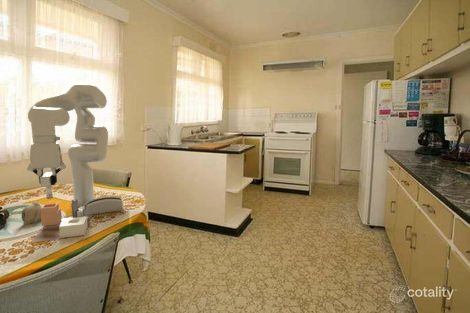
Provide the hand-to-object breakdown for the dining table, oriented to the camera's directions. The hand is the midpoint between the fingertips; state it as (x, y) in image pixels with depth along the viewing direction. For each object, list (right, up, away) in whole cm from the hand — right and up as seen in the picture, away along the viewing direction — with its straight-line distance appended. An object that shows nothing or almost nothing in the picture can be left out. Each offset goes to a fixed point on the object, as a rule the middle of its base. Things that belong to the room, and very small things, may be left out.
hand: (48, 184), depth 109 cm
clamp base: (+5, -17, +5) cm, 18 cm away
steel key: (0, -6, +1) cm, 6 cm away
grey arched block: (+13, -17, +20) cm, 29 cm away
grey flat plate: (+6, -19, 0) cm, 20 cm away
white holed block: (+12, -19, -3) cm, 22 cm away
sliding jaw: (0, -16, +3) cm, 16 cm away
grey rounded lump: (-12, -18, +7) cm, 23 cm away
